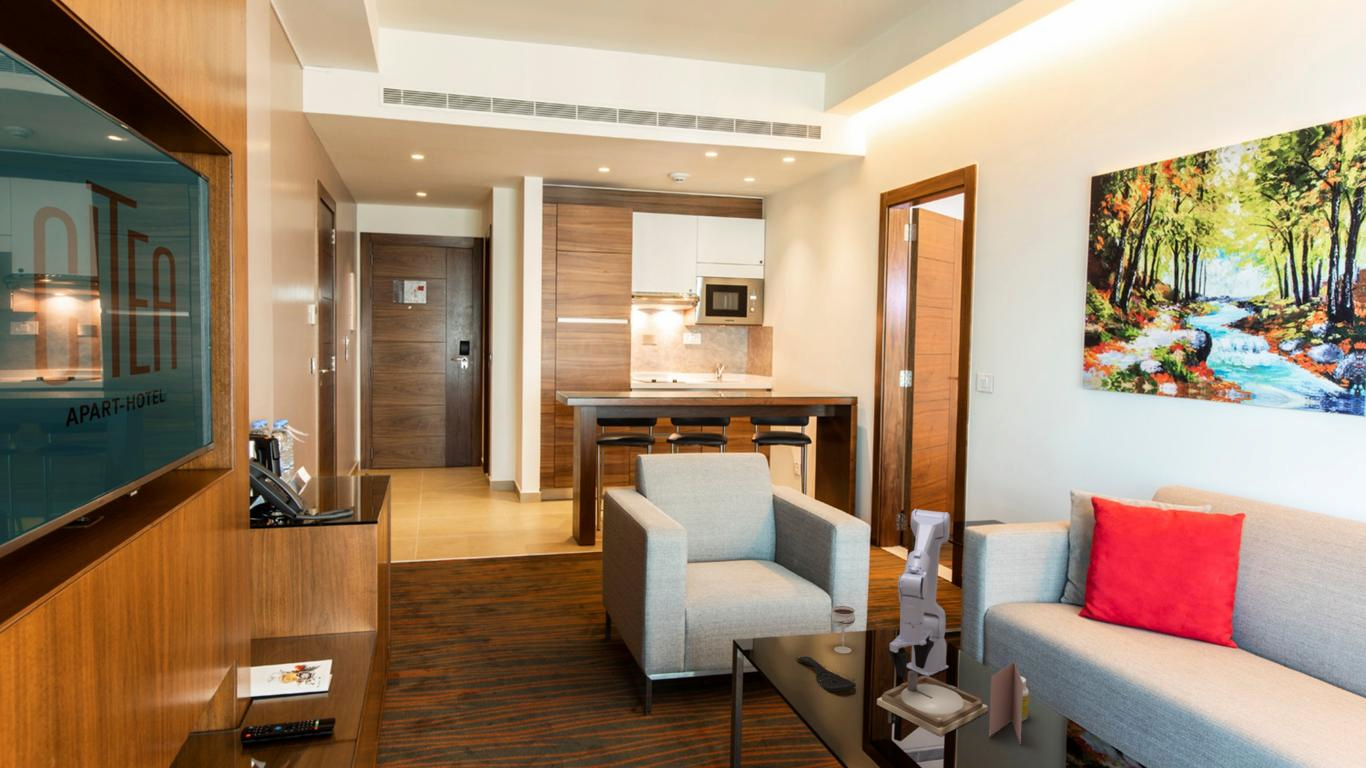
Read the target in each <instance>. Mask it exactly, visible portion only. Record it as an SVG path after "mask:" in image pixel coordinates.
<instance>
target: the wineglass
mask: <svg viewBox="0 0 1366 768" xmlns="http://www.w3.org/2000/svg"><path fill="white" fill-rule="evenodd" d="M831 611H832V613H831V619H832V623H834V625H835V626H837V627H838V628H840V629H841V646H840V645H839V646H836V647H834V649H833V650H834V651H835V652H836V653H839V654H849V653H851V652H852V648H850V647H848V646H845V630H846V629H847V628H850V627H851V626H852V625H854V623H855V621H856V615H855V613H856V609H854V607H851V606H847V605H846V606H845V605H838V606H836V605H835V606H834V607H832V608H831Z"/></svg>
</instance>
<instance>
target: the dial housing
mask: <svg viewBox="0 0 1366 768" xmlns="http://www.w3.org/2000/svg"><path fill="white" fill-rule="evenodd" d="M919 684H929V685H937V686H941V687H944V688H947V689H950V690H952V691H954V692H956V693H957V694H959V695H960V696H961V698H962V699H963V702H964V706H963V708H962V709H960V710H958V711H956V712H954V713H952V714H950V715H948V716H946V717H932V716H930V715H928V714H926V713H924V712H922V711H920V710H918V709H916V708H913V707H911V706H909V705H907V704H905V703H903V702H902V701H901V693H902V691H903V690H904V689H905V688H907V686H908V681H907V682H903V683H901V684H899V685H898V686H896V687H892V688H891V689H889V690H886V691H884V692H882V693H883V694H882V695H881V696H880V697H879V698H876V705H877V706H878V707H881V708H883V709H885V710H887V711H888V712H890V713H893V714H895V715H897V716H899V717H901V718H902V719H904V720H907V721H909V722H911V723H912V724H914V725H917V726H919V727H921V728H923V729H925V730H927V731H929V732H931V733H933V734H935V735H937V736H938V737H942V736H944V735H946V734H948V733H949V732H951V731H953V730H955V729H957V728H959V727H961V726H962V725H965V724H967V723H968V722H970V721H973V720H975V719H977V718H979V717H980V716H982V715H984V714H986V713H987V712H986V711H988V710H989V707H988V705H987V704H984V703H983V702H984V700H983V699H981V698H979V697H977V696H974V695H973V694H970V693H968V692H965V691H963V690H961V689H958V687H956V686H954V685H952V684H951V685H950V684H947V683H946V682H943V681H940V680H939V679H937V678H933V677H931V676H927V675H926V676H925V675H921V676H917V685H919ZM985 712H986V713H985ZM988 712H989V711H988ZM983 713H984V714H983ZM981 714H982V715H981ZM978 716H979V717H978Z"/></svg>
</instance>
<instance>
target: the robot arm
mask: <svg viewBox="0 0 1366 768" xmlns="http://www.w3.org/2000/svg"><path fill="white" fill-rule="evenodd" d="M910 529H911V531H912V533H913V536H914V537H915V542H914V549H913V550H912V551H911V552H909V553H908V555H907V559H906V562H905V567H904V571H903V574H900V575H899V577H898V582H897V583H898V584H897V590H898V591H897V592H898V602H899V603H900V604H899V605H900V609H899V612H900V617H899V618H900V619H899V635H898V636H897V637H896V638H895V639H893V640H892V642H890V643H889V646H887V647H888V648H887V649H888V650H887V651H888V653H889V654H890V656H891V659H892V662H893V664H894V668H895V672H896V675H897V676H899V677H901V678H905V677H906V674H907V669H909V670H910V671H915V672H917V673H918V674H920V675H921V676H926V675H927V676H929V677H931V676H933V675H935V674H937V673H939V671H940V672H942V671H944V670H946V669H948V668H949V665H947V641H946V639H945V634H946V625H947V621H946V612H945V610H944V609H943V607H942V606H941V605H940V604H938V602H937V592H938V579H939V578H938V576H939V565H940V552H941V548H942V545H943V543H947V542H949V539H950V534H951V533H950V531H951V515H950V514H949V512H948V511H946V512H943V511H934V510H923V509H918V508H914V510H912V511H911V516H910ZM907 647H911V653H910V652H908V651H906V650H905V648H907ZM910 656H911V659H910V660H911V662H908V661H909V658H910ZM930 675H931V676H930Z"/></svg>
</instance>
